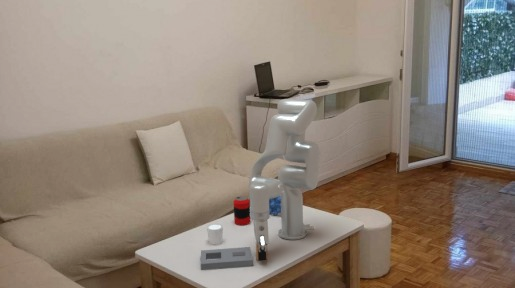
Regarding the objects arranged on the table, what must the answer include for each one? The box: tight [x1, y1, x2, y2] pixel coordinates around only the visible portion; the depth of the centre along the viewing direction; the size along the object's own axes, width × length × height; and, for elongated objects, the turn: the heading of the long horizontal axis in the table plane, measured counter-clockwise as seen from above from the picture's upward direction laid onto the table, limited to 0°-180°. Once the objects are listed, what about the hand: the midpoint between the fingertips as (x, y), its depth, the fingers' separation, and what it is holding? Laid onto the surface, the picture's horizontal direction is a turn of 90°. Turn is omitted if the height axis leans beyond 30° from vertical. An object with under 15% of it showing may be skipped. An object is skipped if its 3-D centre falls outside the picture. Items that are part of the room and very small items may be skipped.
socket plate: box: [200, 246, 254, 271], centre depth 197 cm, size 20×12×3 cm, turn 96°
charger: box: [255, 242, 268, 262], centre depth 198 cm, size 4×4×8 cm
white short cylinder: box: [206, 223, 224, 245], centre depth 215 cm, size 7×7×7 cm
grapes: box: [269, 195, 281, 216], centre depth 243 cm, size 12×7×12 cm, turn 51°
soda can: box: [233, 196, 251, 226], centre depth 235 cm, size 8×8×12 cm
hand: (261, 255), depth 198 cm, fingers open, 7 cm apart
